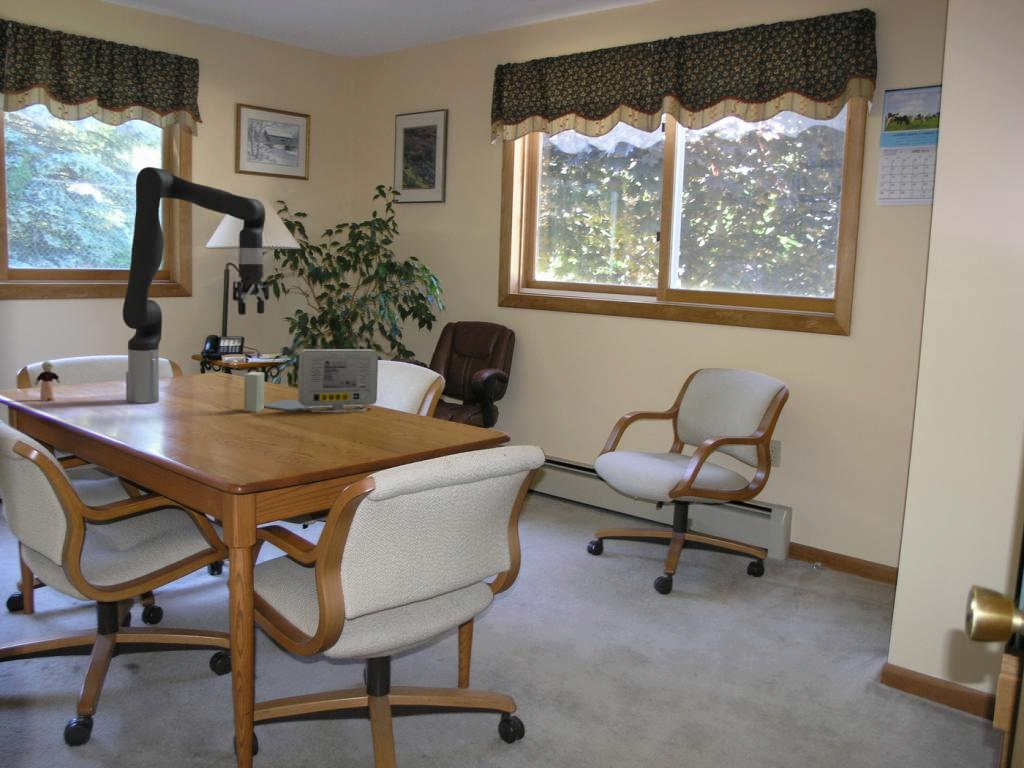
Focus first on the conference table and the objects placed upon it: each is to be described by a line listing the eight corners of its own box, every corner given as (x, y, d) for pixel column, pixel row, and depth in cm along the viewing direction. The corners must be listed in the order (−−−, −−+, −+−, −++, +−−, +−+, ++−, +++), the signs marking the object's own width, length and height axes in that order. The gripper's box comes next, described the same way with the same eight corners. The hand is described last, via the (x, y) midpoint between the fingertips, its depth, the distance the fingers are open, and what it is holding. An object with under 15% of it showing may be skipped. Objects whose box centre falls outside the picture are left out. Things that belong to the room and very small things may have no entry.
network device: (370, 406, 302) (372, 348, 299) (379, 411, 294) (380, 351, 291) (296, 408, 290) (297, 348, 287) (302, 413, 282) (303, 351, 279)
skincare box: (251, 408, 286) (251, 371, 285) (264, 409, 286) (265, 372, 284) (243, 411, 280) (243, 373, 279) (257, 412, 280) (257, 374, 278)
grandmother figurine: (40, 402, 278) (39, 362, 276) (33, 400, 280) (32, 361, 278) (63, 399, 284) (62, 360, 283) (56, 398, 286) (55, 359, 284)
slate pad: (259, 406, 290) (259, 404, 290) (286, 401, 303) (286, 399, 302) (293, 411, 284) (293, 409, 284) (319, 405, 297) (319, 404, 297)
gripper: (256, 262, 286) (257, 312, 288) (225, 262, 273) (226, 314, 275) (275, 263, 283) (275, 313, 285) (244, 262, 270) (245, 315, 272)
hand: (251, 314), depth 280 cm, fingers open, 8 cm apart
